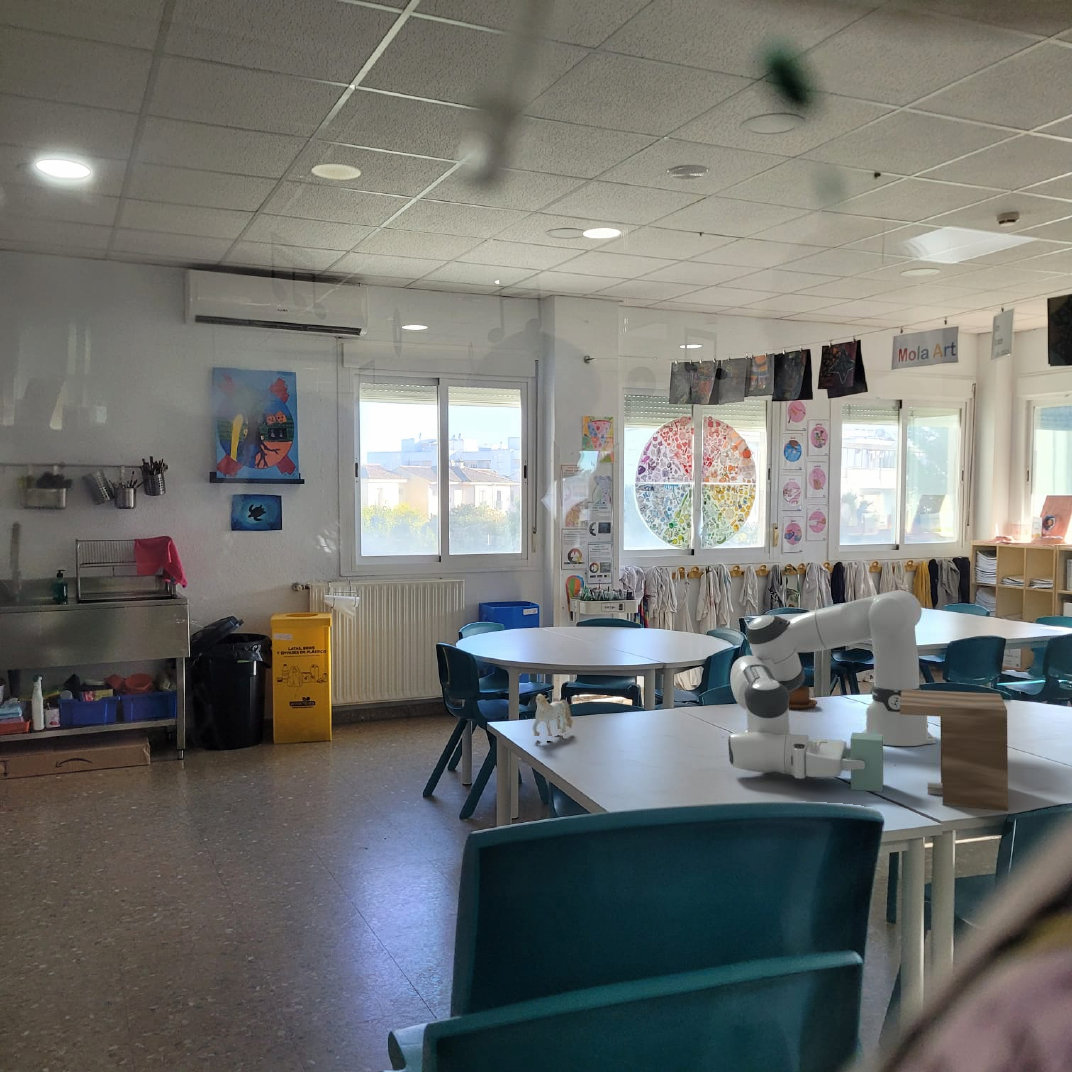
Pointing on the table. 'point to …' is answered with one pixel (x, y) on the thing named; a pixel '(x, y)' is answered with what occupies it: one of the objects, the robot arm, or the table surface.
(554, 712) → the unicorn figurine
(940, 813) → the table surface
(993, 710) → the cubby
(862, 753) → the upright mint green block
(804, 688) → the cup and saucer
